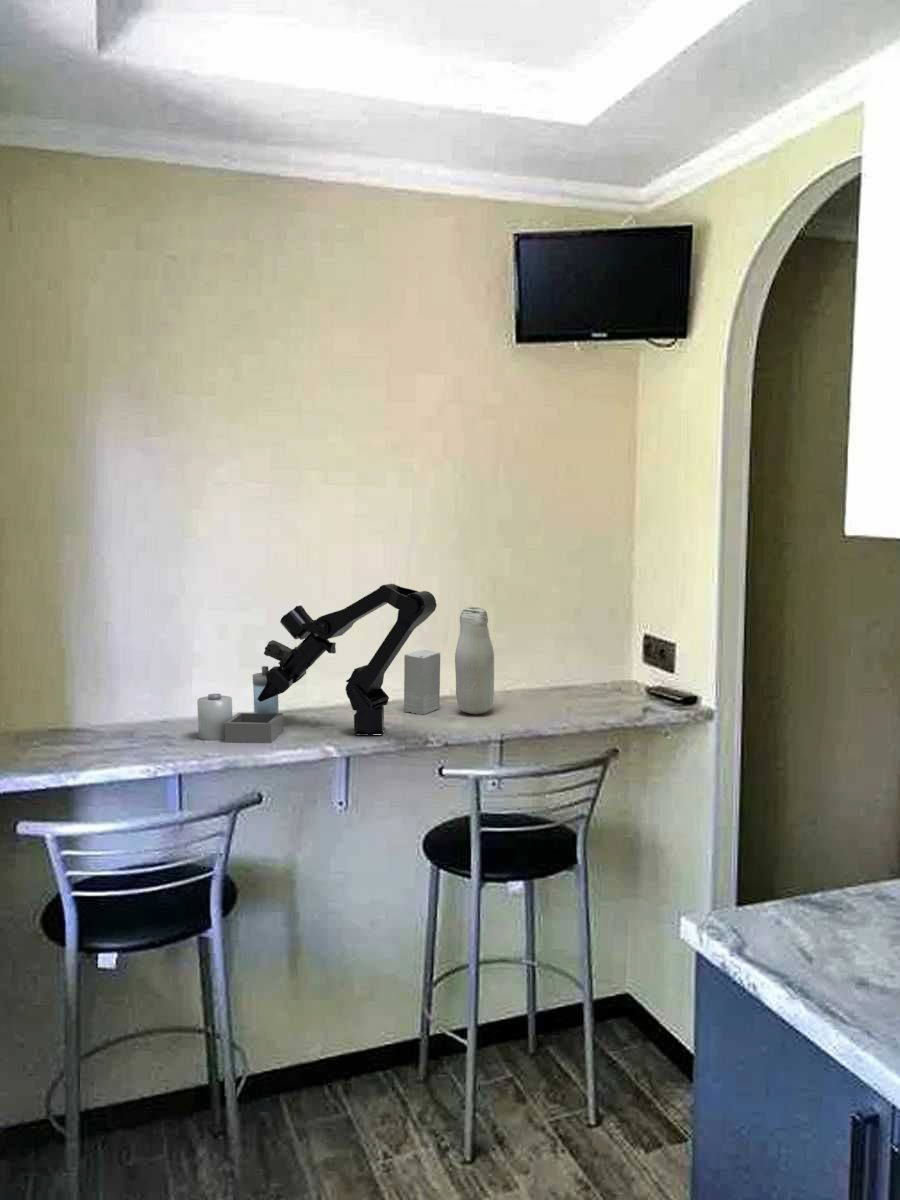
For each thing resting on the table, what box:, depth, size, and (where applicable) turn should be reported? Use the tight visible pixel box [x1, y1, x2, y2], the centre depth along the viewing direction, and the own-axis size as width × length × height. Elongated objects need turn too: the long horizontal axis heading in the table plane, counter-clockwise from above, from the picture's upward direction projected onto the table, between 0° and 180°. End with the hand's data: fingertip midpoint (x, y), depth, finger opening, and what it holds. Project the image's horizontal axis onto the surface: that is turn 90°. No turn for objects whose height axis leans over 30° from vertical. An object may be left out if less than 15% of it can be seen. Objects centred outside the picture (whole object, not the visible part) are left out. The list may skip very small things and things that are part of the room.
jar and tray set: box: [197, 693, 284, 743], centre depth 226 cm, size 19×11×10 cm, turn 85°
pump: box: [252, 665, 280, 713], centre depth 236 cm, size 6×6×15 cm
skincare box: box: [403, 649, 441, 715], centre depth 251 cm, size 8×7×16 cm
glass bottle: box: [454, 606, 495, 715], centre depth 247 cm, size 10×10×28 cm
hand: (264, 696), depth 236 cm, fingers open, 9 cm apart
